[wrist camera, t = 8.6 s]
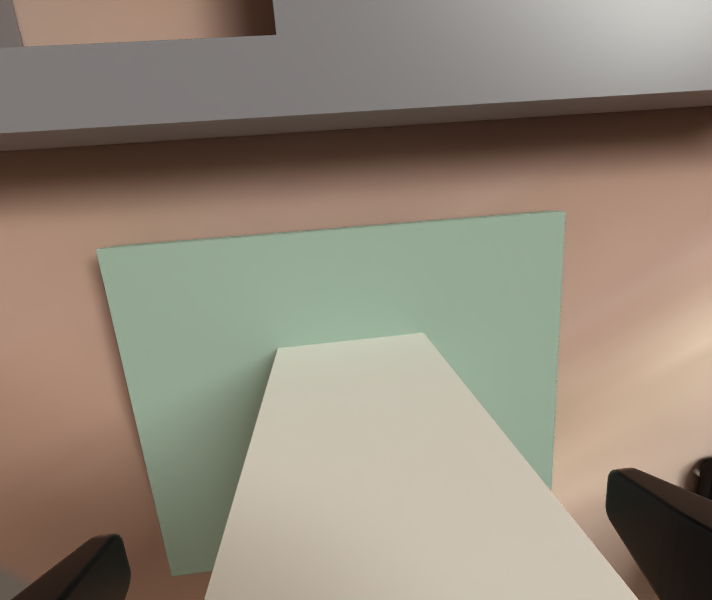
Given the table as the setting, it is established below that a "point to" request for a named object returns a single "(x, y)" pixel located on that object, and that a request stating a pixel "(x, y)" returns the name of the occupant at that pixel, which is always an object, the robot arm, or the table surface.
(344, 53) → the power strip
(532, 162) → the table surface
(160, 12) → the table surface
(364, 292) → the green mat
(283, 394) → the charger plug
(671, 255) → the table surface
